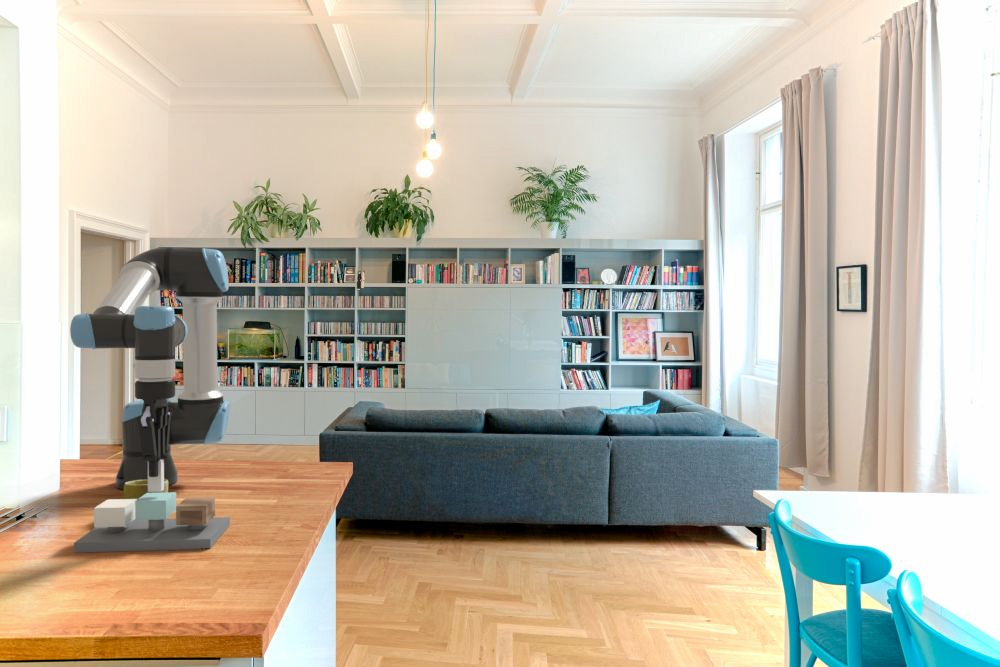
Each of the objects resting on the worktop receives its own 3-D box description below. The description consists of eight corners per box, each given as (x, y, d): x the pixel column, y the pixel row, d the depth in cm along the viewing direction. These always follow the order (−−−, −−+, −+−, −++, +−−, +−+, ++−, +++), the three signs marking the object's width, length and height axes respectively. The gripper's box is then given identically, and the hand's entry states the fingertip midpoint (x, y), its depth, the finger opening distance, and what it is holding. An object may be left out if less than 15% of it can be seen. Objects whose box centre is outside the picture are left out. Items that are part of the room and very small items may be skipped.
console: (106, 529, 147) (106, 505, 147) (229, 525, 150) (229, 503, 150) (74, 552, 133) (73, 526, 133) (210, 548, 136) (210, 523, 136)
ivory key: (107, 517, 143) (107, 499, 143) (137, 517, 144) (137, 498, 144) (94, 527, 137) (93, 508, 137) (125, 526, 138) (125, 507, 138)
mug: (151, 516, 150) (146, 472, 152) (114, 527, 152) (109, 483, 154) (190, 511, 162) (184, 470, 164) (154, 521, 164) (149, 480, 166)
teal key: (147, 511, 144) (146, 492, 144) (176, 510, 145) (176, 492, 145) (135, 520, 138) (135, 500, 138) (166, 519, 139) (165, 500, 139)
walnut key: (186, 516, 145) (186, 497, 145) (215, 515, 146) (214, 497, 146) (176, 525, 139) (176, 506, 139) (206, 524, 140) (206, 505, 140)
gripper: (148, 376, 146) (149, 483, 147) (122, 382, 133) (123, 500, 134) (184, 376, 147) (185, 482, 148) (162, 382, 134) (163, 499, 135)
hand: (156, 490), depth 141 cm, fingers closed
